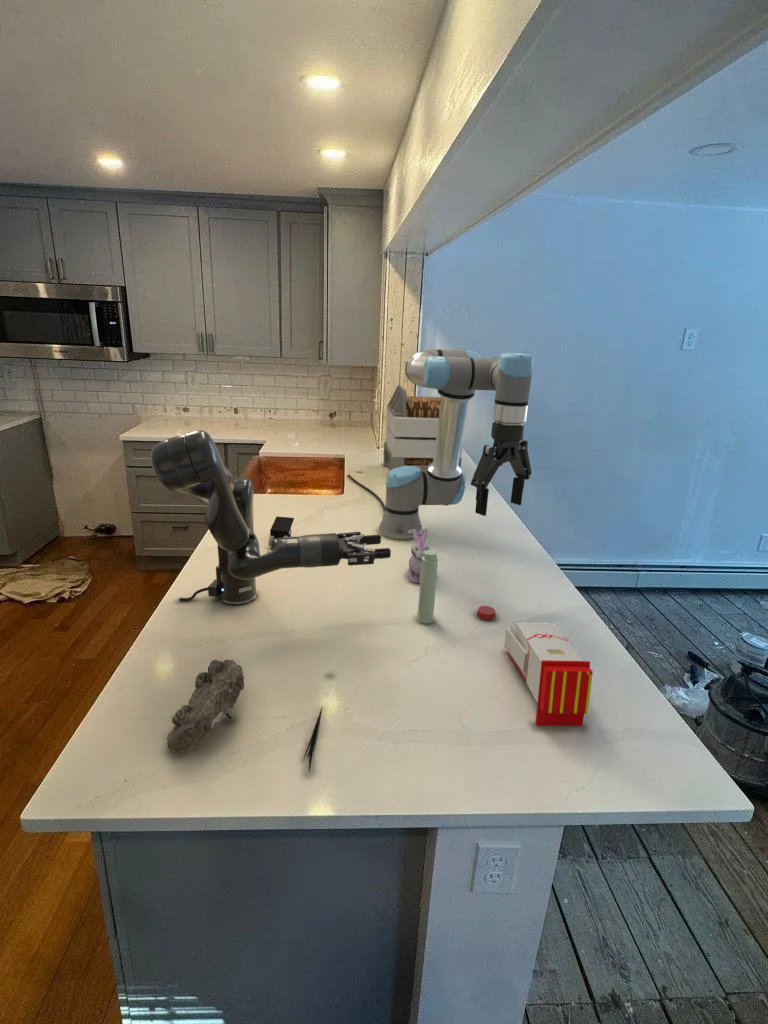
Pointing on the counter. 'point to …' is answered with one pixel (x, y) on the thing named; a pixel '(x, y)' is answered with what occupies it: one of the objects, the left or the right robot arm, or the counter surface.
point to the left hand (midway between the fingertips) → (385, 545)
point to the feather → (313, 740)
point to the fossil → (206, 705)
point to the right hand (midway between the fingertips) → (498, 508)
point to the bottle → (427, 586)
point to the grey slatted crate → (411, 430)
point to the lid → (486, 613)
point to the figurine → (417, 555)
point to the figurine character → (281, 528)
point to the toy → (551, 672)
